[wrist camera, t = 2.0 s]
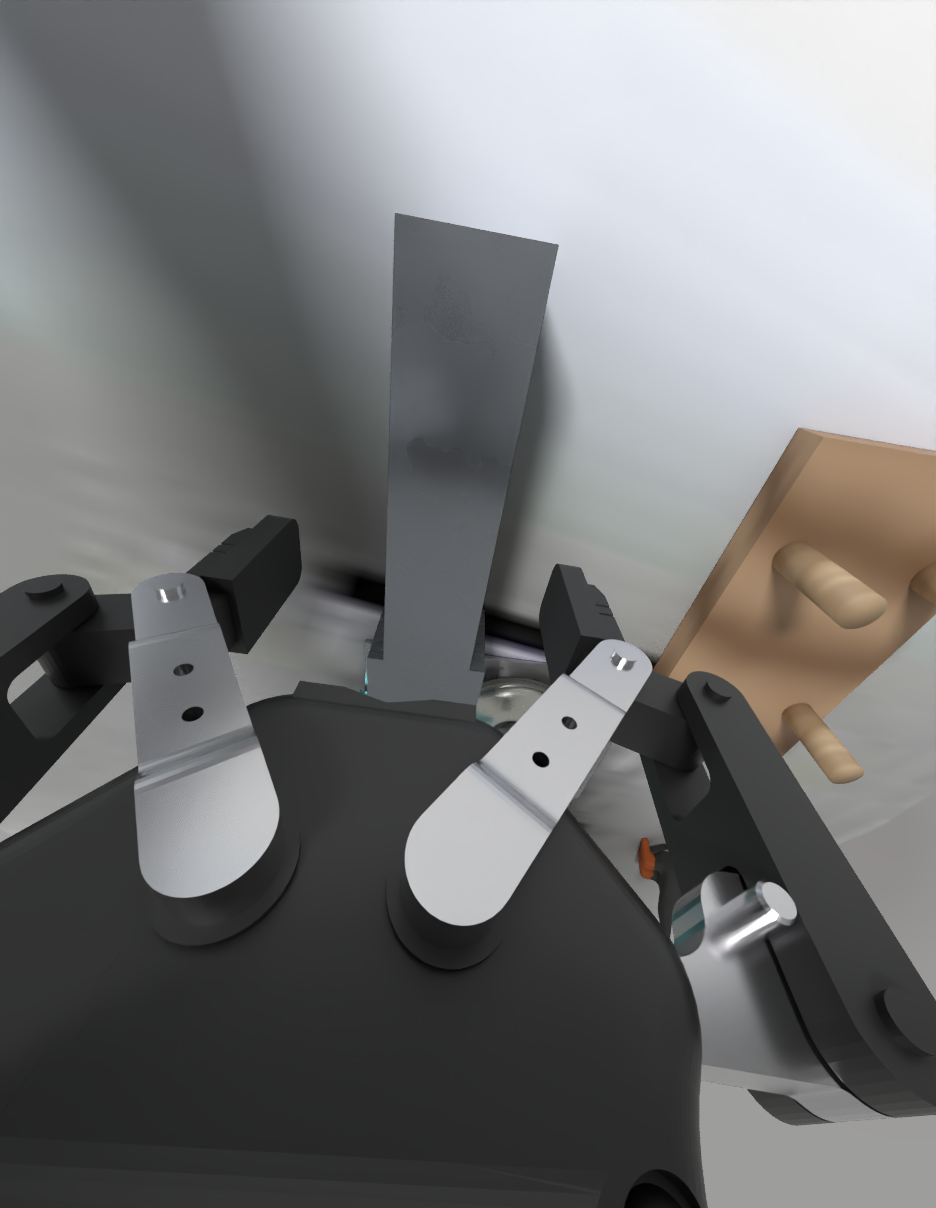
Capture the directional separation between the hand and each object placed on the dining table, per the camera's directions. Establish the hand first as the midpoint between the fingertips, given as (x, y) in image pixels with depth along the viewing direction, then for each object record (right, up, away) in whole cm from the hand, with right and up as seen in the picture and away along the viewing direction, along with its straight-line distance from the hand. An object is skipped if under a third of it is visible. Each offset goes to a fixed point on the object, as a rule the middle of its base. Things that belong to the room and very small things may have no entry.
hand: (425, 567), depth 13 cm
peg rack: (+19, -2, +10) cm, 22 cm away
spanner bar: (0, +4, +6) cm, 7 cm away
